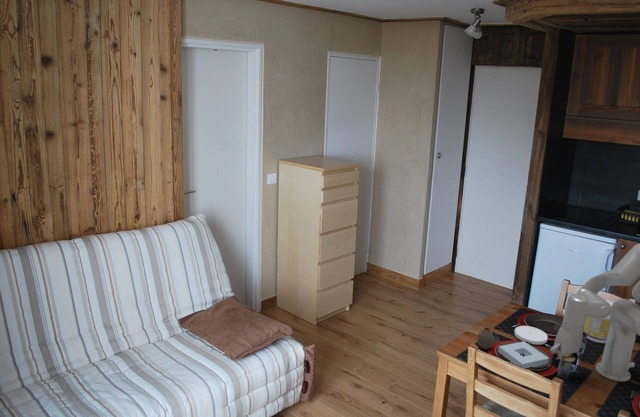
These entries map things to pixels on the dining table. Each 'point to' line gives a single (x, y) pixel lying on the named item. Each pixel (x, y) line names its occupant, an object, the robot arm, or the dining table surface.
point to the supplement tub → (597, 328)
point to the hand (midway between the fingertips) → (563, 364)
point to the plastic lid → (531, 335)
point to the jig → (531, 354)
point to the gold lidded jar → (565, 365)
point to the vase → (485, 338)
